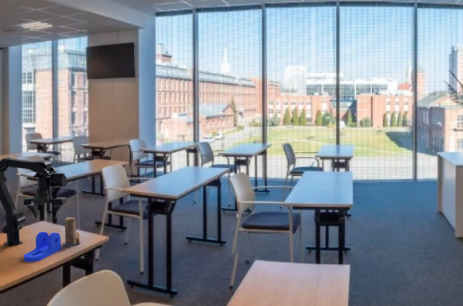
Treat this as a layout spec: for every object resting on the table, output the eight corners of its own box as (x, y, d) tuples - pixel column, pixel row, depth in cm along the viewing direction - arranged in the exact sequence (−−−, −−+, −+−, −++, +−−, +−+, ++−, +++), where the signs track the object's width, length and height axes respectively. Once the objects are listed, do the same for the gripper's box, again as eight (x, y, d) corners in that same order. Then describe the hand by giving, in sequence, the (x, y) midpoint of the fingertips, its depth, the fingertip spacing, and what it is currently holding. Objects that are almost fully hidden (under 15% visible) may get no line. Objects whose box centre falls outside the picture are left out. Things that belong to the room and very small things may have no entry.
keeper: (62, 245, 218) (62, 233, 218) (67, 241, 224) (66, 230, 224) (78, 245, 218) (77, 233, 218) (82, 241, 224) (81, 230, 224)
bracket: (45, 248, 215) (44, 229, 214) (61, 249, 213) (60, 231, 212) (19, 261, 198) (18, 241, 197) (36, 262, 196) (35, 242, 195)
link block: (65, 243, 219) (64, 219, 218) (68, 240, 223) (67, 217, 222) (73, 243, 219) (72, 219, 218) (76, 241, 223) (75, 217, 222)
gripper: (17, 190, 209) (18, 222, 211) (57, 190, 209) (58, 223, 211) (28, 185, 220) (29, 216, 222) (66, 185, 220) (67, 217, 222)
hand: (45, 218), depth 219 cm, fingers open, 9 cm apart
